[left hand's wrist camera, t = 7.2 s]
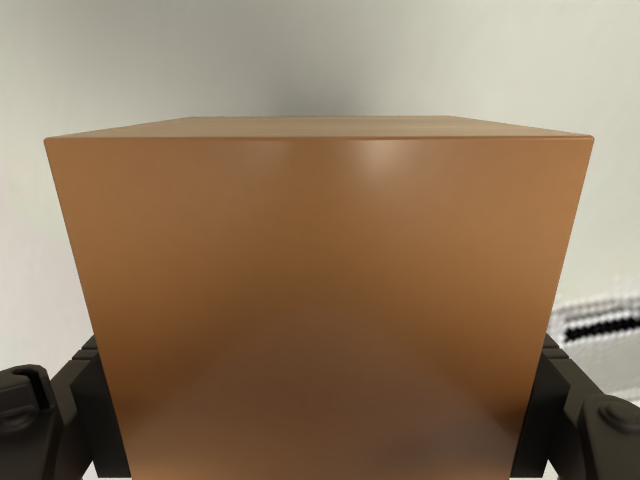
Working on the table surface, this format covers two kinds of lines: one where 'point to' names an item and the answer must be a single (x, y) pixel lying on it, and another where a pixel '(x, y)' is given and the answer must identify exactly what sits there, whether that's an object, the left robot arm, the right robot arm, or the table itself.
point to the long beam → (319, 289)
